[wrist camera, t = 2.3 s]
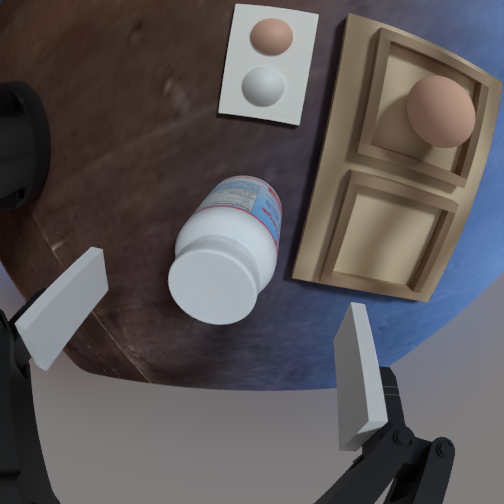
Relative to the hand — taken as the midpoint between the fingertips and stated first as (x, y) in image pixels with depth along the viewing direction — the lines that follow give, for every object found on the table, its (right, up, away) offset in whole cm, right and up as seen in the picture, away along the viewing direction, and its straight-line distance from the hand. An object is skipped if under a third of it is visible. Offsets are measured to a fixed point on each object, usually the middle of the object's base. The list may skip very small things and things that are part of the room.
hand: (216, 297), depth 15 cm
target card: (+3, +16, +3) cm, 17 cm away
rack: (+14, +9, +6) cm, 17 cm away
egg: (+14, +13, +2) cm, 19 cm away
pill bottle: (+1, +6, +10) cm, 12 cm away
